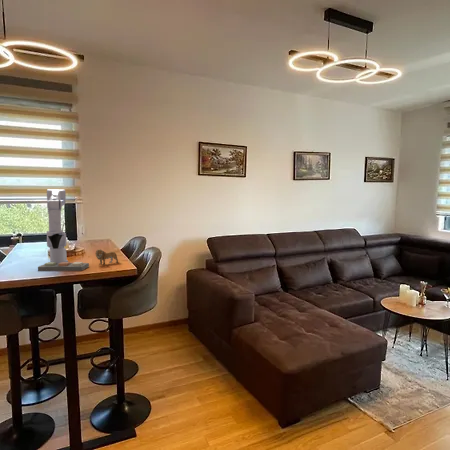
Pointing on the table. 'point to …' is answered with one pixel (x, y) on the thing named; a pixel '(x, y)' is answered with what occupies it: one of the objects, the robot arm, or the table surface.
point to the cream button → (77, 264)
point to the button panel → (63, 267)
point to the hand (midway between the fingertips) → (55, 248)
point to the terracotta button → (64, 263)
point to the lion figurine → (105, 256)
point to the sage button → (50, 263)
